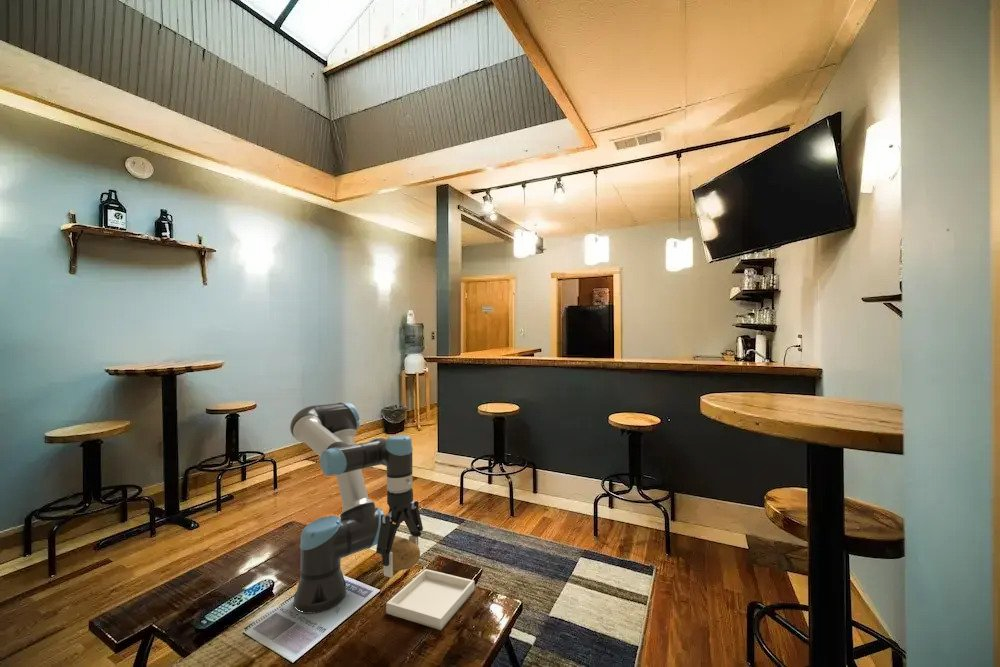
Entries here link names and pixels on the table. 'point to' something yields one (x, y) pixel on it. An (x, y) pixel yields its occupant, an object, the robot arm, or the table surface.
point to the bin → (431, 598)
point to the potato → (404, 553)
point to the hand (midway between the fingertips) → (401, 566)
